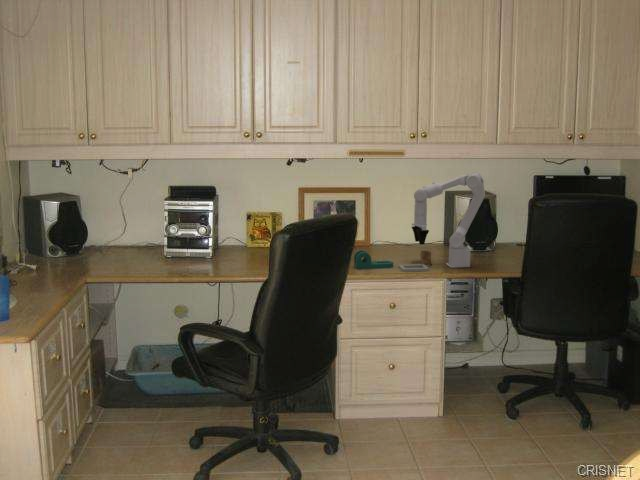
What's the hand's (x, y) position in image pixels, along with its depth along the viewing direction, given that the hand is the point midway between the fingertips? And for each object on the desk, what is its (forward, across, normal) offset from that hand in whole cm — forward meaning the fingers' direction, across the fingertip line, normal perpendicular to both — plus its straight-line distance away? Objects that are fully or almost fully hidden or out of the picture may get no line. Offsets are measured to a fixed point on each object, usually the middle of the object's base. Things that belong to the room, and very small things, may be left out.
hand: (419, 242), depth 328 cm
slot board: (+10, +11, -6) cm, 16 cm away
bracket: (+10, +4, -22) cm, 25 cm away
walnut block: (+10, +3, +2) cm, 10 cm away
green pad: (+10, +3, +1) cm, 11 cm away
